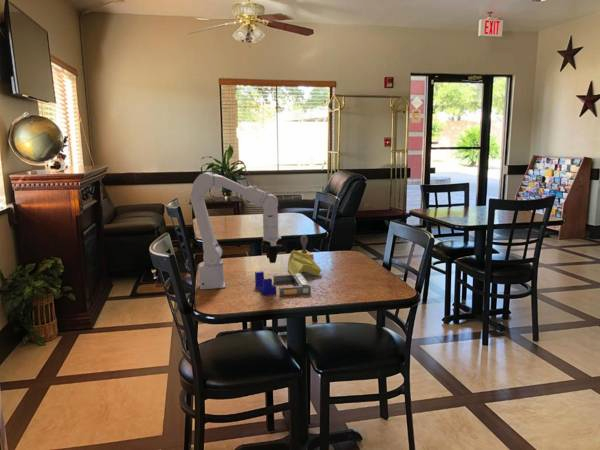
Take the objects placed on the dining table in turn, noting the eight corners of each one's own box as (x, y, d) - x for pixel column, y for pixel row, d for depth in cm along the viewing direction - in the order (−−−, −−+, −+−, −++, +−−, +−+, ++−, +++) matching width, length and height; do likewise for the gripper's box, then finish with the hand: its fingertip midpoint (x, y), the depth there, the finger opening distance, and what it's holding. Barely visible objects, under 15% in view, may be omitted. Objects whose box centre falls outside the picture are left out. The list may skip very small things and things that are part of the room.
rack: (280, 296, 175) (279, 287, 174) (273, 283, 191) (273, 274, 191) (310, 294, 177) (310, 285, 176) (301, 281, 193) (301, 272, 193)
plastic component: (323, 271, 199) (302, 262, 196) (315, 286, 200) (294, 278, 197) (309, 256, 218) (290, 248, 215) (302, 270, 219) (283, 263, 215)
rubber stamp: (313, 262, 223) (313, 236, 221) (302, 263, 221) (301, 237, 219) (306, 257, 232) (305, 232, 230) (294, 258, 230) (294, 233, 228)
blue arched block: (276, 294, 178) (275, 279, 177) (264, 296, 176) (264, 280, 175) (266, 285, 189) (266, 270, 188) (255, 287, 187) (255, 272, 186)
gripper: (284, 228, 179) (284, 264, 182) (278, 222, 193) (278, 255, 196) (265, 229, 178) (265, 265, 180) (260, 223, 192) (261, 256, 194)
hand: (271, 260), depth 188 cm, fingers open, 7 cm apart
